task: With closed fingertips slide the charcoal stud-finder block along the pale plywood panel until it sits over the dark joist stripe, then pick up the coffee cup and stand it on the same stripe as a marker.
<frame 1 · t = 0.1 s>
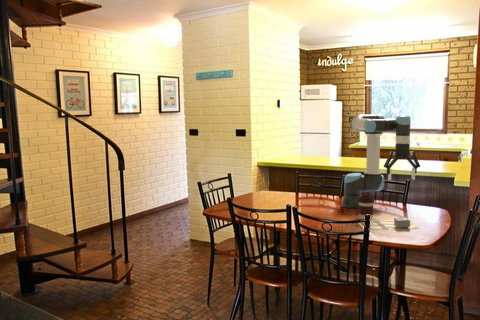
hand: (401, 179, 231), 28 cm above the table, fingers open, 13 cm apart
subfloor panel: (389, 227, 234), on the table
coffee cup: (365, 220, 248), on the table
finder block: (401, 227, 228), point 1 cm above the table, touching subfloor panel
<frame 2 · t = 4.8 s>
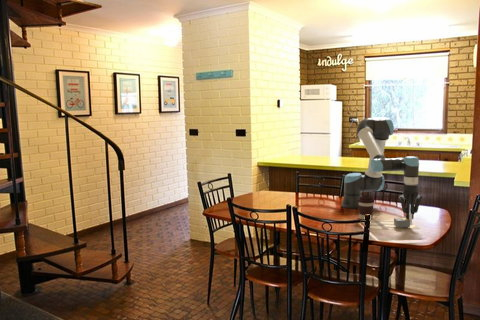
hand: (409, 224, 227), 3 cm above the table, fingers closed
finder block: (401, 227, 228), point 2 cm above the table, touching gripper, subfloor panel
everything else where it was.
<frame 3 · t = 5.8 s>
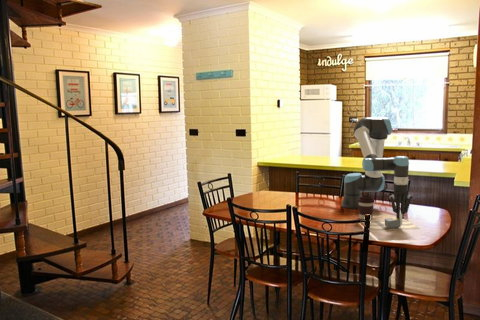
hand: (399, 224, 227), 3 cm above the table, fingers closed
finder block: (392, 227, 227), point 2 cm above the table, touching gripper
everything else where it was.
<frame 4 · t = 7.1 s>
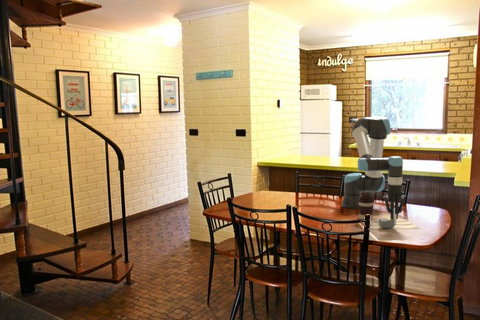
hand: (394, 224, 227), 3 cm above the table, fingers closed
finder block: (386, 227, 227), point 2 cm above the table, touching gripper, subfloor panel
everything else where it was.
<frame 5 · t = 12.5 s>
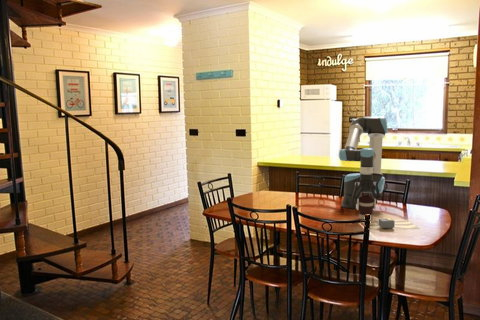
hand: (365, 208, 247), 7 cm above the table, fingers closed on coffee cup, 10 cm apart
coffee cup: (365, 220, 248), on the table, touching gripper
finder block: (386, 227, 227), point 1 cm above the table, touching subfloor panel
when the fingers open (10 cm above the table, at t = 17.2 s): coffee cup drops 1 cm, resting on subfloor panel.
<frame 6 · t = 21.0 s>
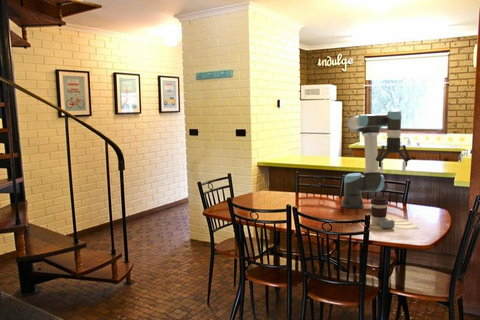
hand: (392, 172, 240), 31 cm above the table, fingers open, 13 cm apart
coffee cup: (378, 223, 237), point 1 cm above the table, touching subfloor panel
everything else where it was.
at the end: finder block inside the target area (1.6 cm from its centre), point 1.5 cm above the table; coffee cup inside the target area (0.2 cm from its centre), point 1.3 cm above the table; coffee cup tilted 0° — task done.
